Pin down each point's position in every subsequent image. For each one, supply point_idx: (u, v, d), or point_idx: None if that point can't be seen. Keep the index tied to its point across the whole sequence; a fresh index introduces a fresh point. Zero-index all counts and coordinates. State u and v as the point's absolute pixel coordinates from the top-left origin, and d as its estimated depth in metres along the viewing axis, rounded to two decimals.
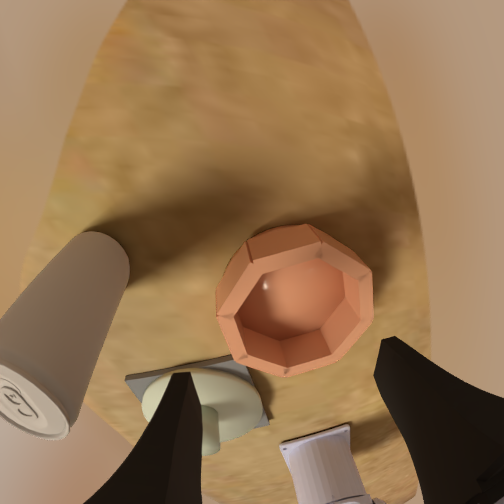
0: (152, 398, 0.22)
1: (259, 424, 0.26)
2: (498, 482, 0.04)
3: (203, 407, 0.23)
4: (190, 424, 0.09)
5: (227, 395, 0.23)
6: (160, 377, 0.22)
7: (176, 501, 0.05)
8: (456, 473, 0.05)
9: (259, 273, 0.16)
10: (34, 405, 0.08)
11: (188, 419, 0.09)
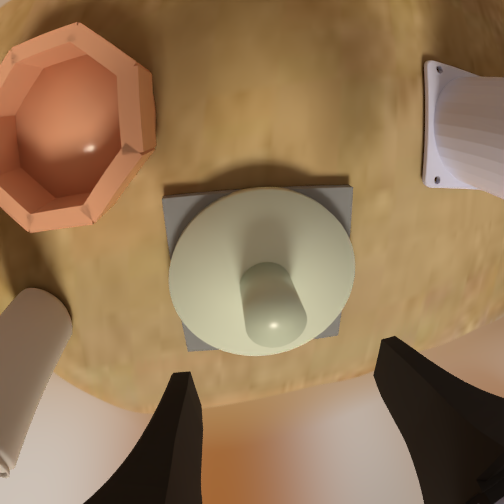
0: (212, 335, 0.18)
1: (343, 203, 0.16)
2: (498, 482, 0.04)
3: (241, 279, 0.16)
4: (190, 424, 0.09)
5: (225, 238, 0.15)
6: None
7: (176, 501, 0.05)
8: (456, 473, 0.05)
9: None
10: None
11: (188, 419, 0.09)
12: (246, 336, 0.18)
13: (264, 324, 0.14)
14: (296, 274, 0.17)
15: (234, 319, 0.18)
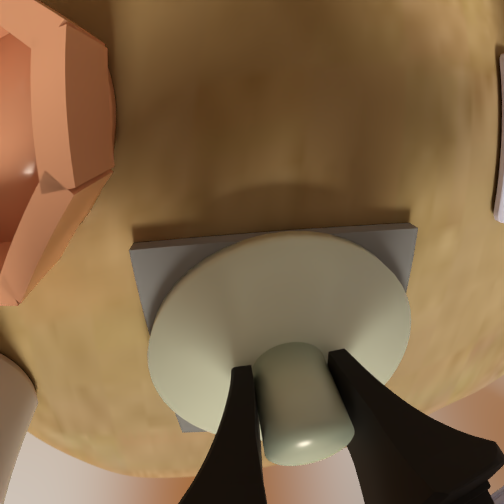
0: (213, 423, 0.12)
1: (403, 251, 0.11)
2: None
3: (255, 367, 0.11)
4: (256, 417, 0.09)
5: (230, 313, 0.10)
6: None
7: (265, 495, 0.06)
8: (392, 503, 0.05)
9: None
10: None
11: (256, 412, 0.09)
12: None
13: (293, 447, 0.08)
14: None
15: None
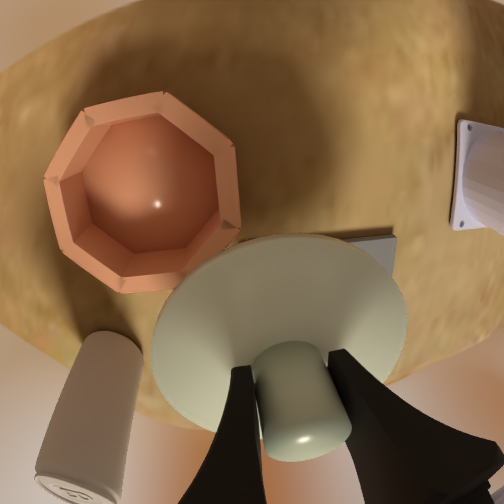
0: (217, 423, 0.12)
1: (389, 250, 0.19)
2: None
3: (254, 366, 0.11)
4: (256, 418, 0.09)
5: (228, 315, 0.10)
6: None
7: None
8: (392, 503, 0.05)
9: (72, 245, 0.13)
10: (68, 488, 0.09)
11: (255, 412, 0.09)
12: None
13: (291, 443, 0.08)
14: None
15: None
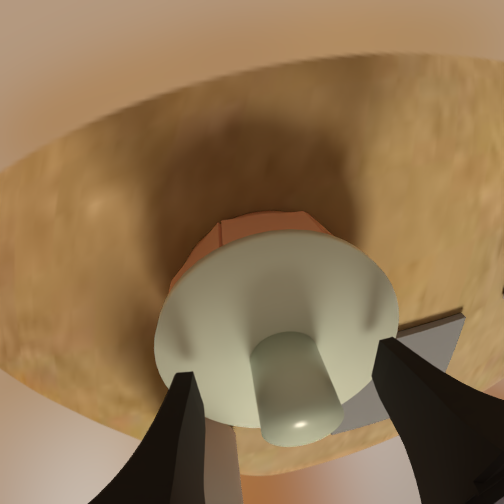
0: (219, 413, 0.13)
1: (458, 328, 0.19)
2: (496, 484, 0.04)
3: (252, 356, 0.12)
4: (193, 424, 0.09)
5: (224, 308, 0.11)
6: None
7: (180, 501, 0.05)
8: (453, 474, 0.05)
9: None
10: None
11: (191, 419, 0.09)
12: None
13: (287, 428, 0.09)
14: (325, 341, 0.12)
15: (246, 396, 0.13)
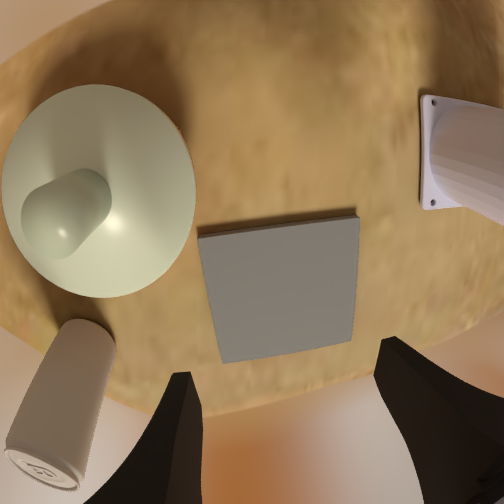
0: (51, 270, 0.14)
1: (352, 231, 0.19)
2: (498, 482, 0.04)
3: None
4: (190, 424, 0.09)
5: (37, 150, 0.11)
6: None
7: (176, 501, 0.05)
8: (456, 473, 0.05)
9: None
10: (33, 463, 0.10)
11: (188, 419, 0.09)
12: (84, 270, 0.14)
13: (38, 225, 0.09)
14: (115, 180, 0.12)
15: None
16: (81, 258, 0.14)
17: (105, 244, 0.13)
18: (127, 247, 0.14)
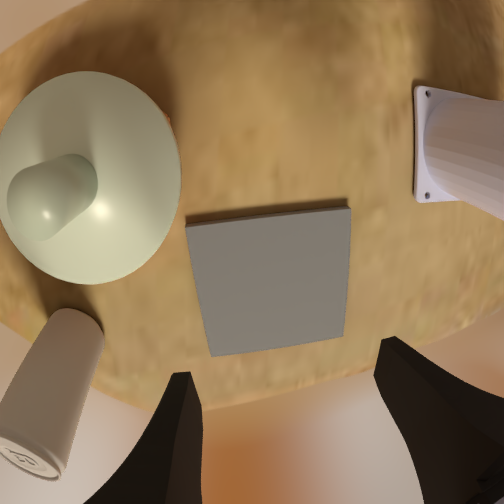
0: (38, 256, 0.13)
1: (343, 223, 0.19)
2: (498, 482, 0.04)
3: None
4: (190, 424, 0.09)
5: (28, 136, 0.11)
6: None
7: (176, 501, 0.05)
8: (456, 473, 0.05)
9: None
10: (15, 450, 0.09)
11: (188, 419, 0.09)
12: (70, 255, 0.14)
13: (22, 206, 0.09)
14: (101, 165, 0.12)
15: None
16: (67, 244, 0.13)
17: (91, 230, 0.13)
18: (112, 232, 0.13)
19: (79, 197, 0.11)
